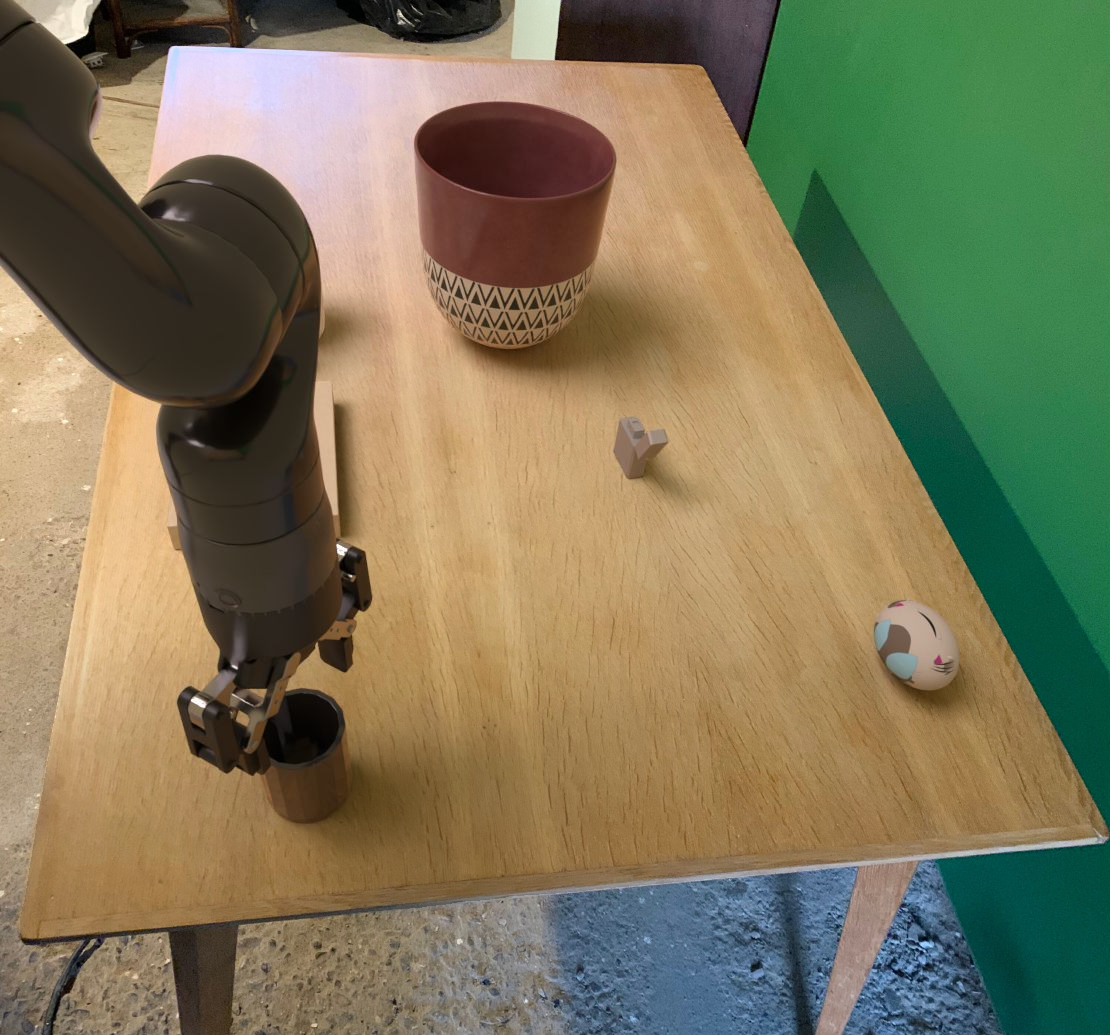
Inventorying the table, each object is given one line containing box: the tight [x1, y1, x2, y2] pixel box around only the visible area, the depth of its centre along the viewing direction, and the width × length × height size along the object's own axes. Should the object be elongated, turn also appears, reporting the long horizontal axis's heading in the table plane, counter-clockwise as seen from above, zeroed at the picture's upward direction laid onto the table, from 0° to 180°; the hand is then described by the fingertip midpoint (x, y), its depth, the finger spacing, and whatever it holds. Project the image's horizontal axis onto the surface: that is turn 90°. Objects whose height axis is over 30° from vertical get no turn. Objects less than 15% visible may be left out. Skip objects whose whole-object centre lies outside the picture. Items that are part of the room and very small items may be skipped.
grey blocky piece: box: [613, 415, 669, 480], centre depth 90 cm, size 7×2×8 cm, turn 18°
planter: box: [413, 100, 618, 350], centre depth 99 cm, size 20×20×21 cm
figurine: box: [873, 596, 961, 691], centre depth 78 cm, size 8×6×7 cm
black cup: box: [259, 687, 353, 824], centre depth 65 cm, size 6×6×8 cm
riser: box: [166, 380, 342, 550], centre depth 87 cm, size 18×14×3 cm
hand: (297, 712), depth 61 cm, fingers open, 8 cm apart
